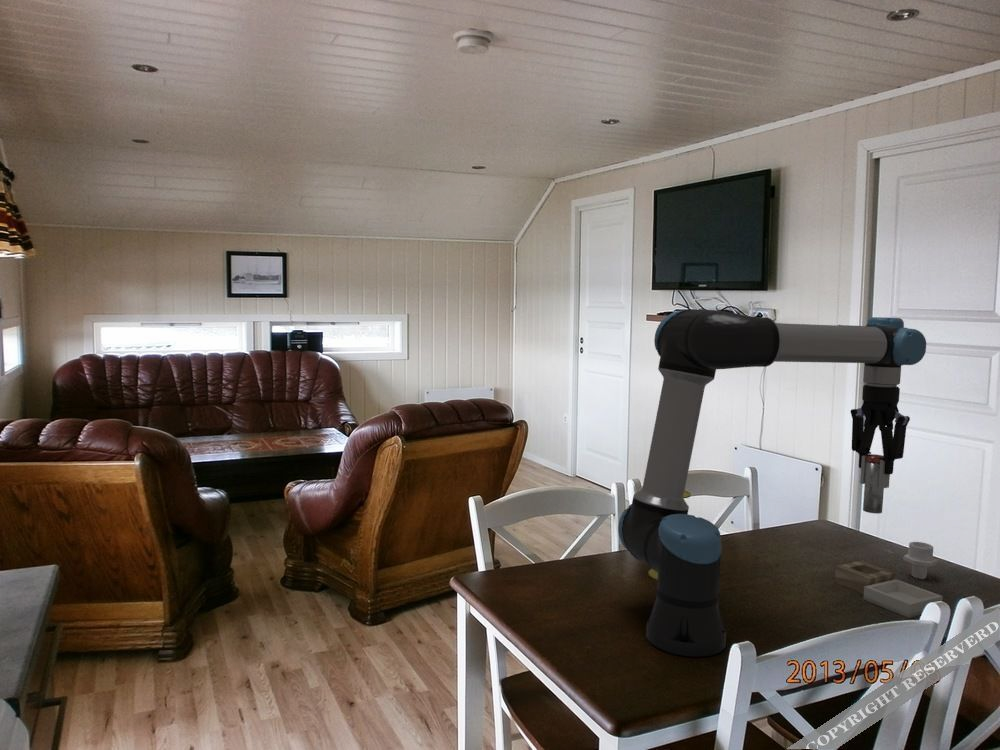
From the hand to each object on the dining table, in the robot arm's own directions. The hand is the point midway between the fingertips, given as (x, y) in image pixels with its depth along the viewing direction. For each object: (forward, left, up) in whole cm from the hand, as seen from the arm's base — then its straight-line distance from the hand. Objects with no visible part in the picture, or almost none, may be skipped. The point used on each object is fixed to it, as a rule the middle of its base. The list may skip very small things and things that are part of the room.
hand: (874, 485), depth 173 cm
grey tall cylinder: (0, 0, -6) cm, 6 cm away
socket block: (0, +1, -25) cm, 25 cm away
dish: (-2, -10, -25) cm, 27 cm away
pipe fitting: (+18, 0, -25) cm, 31 cm away
